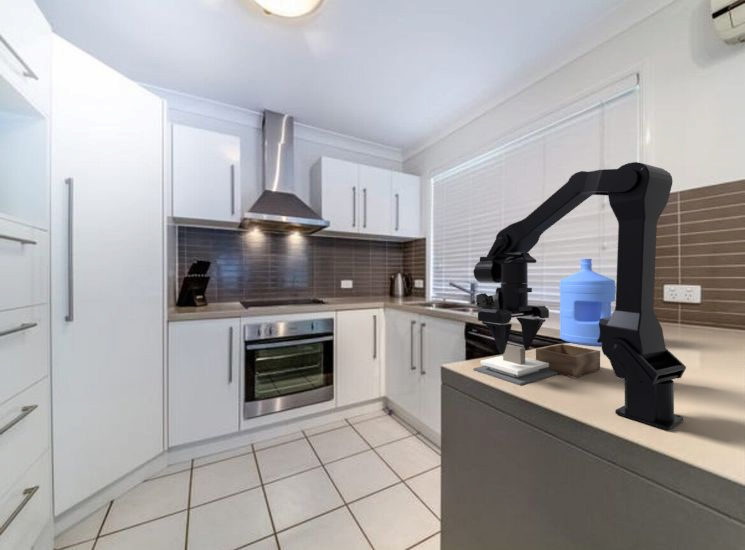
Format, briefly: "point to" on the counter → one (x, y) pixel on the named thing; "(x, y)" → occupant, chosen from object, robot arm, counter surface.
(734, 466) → the counter surface
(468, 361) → the counter surface
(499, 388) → the counter surface
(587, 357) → the box
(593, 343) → the water jug
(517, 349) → the lid
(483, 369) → the mat
